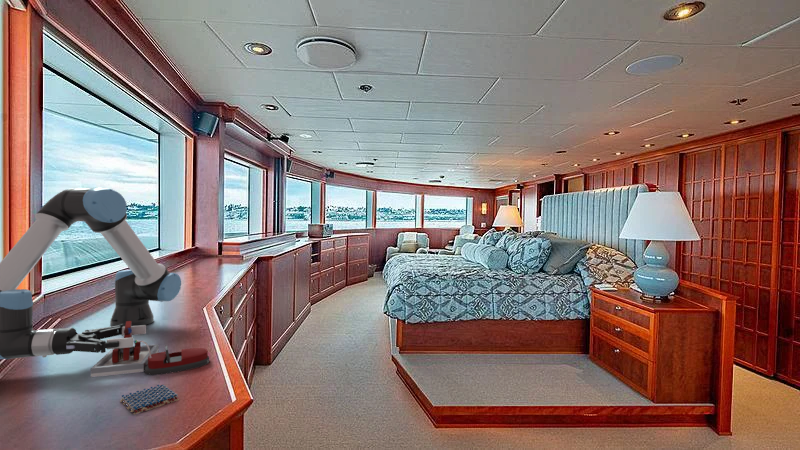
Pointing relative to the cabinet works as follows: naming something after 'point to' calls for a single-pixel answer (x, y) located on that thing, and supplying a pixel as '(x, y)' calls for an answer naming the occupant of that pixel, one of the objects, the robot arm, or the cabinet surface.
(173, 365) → the bumper car
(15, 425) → the cabinet surface
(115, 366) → the tray
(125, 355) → the toy fire truck
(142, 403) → the woven mat
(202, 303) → the cabinet surface
